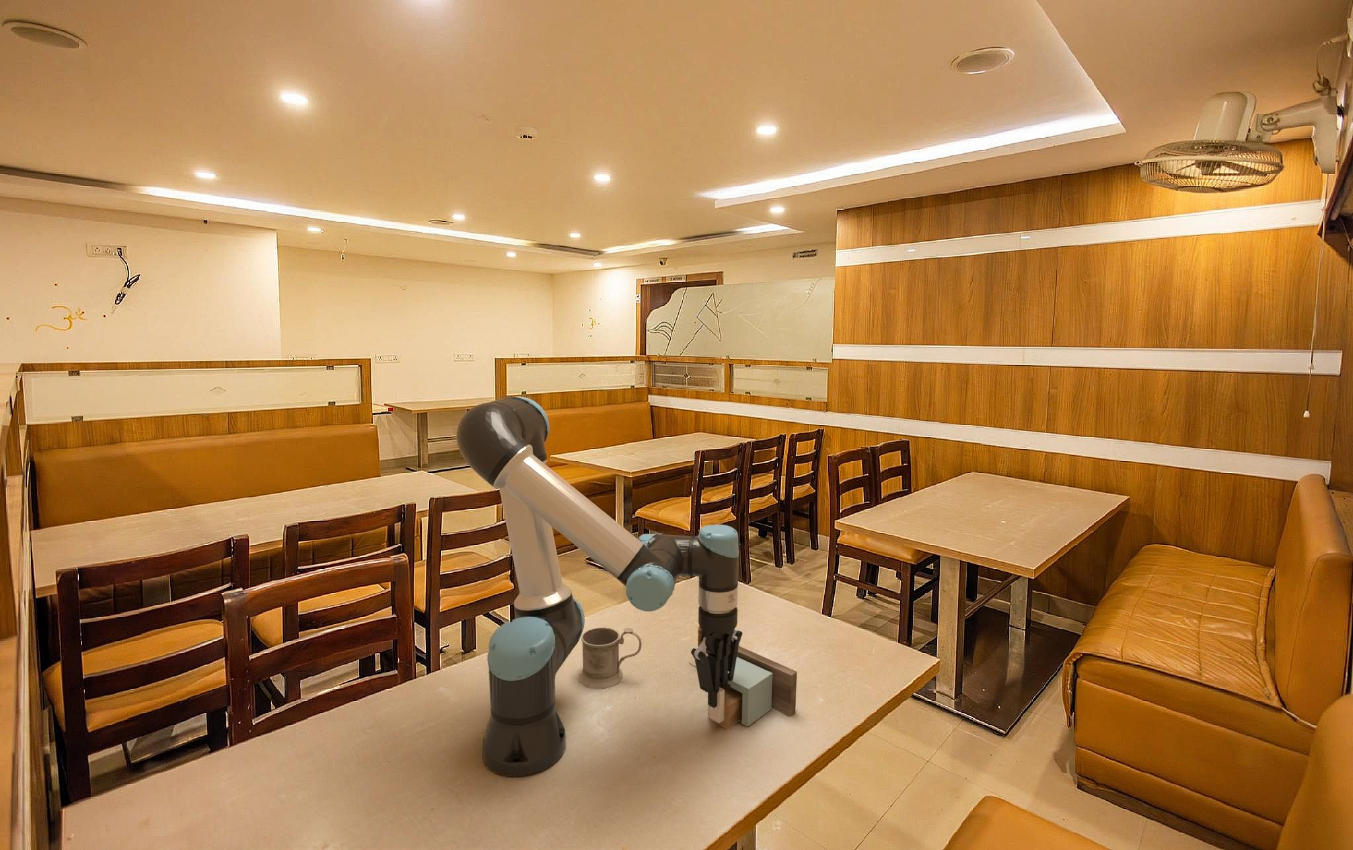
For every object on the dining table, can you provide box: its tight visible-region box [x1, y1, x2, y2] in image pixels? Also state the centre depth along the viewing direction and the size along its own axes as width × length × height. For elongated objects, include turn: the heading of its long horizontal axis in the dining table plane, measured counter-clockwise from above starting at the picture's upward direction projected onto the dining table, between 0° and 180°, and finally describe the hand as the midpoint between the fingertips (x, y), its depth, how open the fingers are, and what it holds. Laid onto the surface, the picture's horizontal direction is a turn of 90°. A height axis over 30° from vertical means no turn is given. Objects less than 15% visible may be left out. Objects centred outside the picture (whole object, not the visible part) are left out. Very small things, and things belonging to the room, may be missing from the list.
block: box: [728, 657, 773, 727], centre depth 130 cm, size 8×10×8 cm
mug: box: [578, 627, 642, 690], centre depth 141 cm, size 14×10×12 cm
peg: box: [707, 687, 742, 730], centre depth 128 cm, size 9×5×5 cm, turn 136°
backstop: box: [737, 645, 798, 717], centre depth 134 cm, size 2×18×9 cm, turn 46°
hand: (716, 718), depth 125 cm, fingers closed
